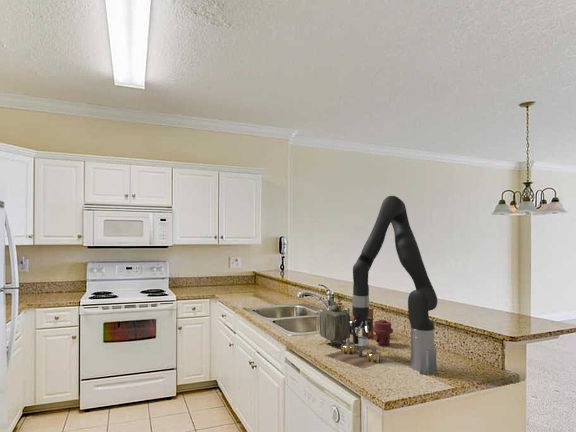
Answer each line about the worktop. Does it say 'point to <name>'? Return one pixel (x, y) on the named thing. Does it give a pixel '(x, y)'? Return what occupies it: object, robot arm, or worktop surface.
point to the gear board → (354, 357)
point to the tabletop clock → (334, 323)
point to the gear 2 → (374, 357)
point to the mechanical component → (382, 332)
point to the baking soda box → (370, 334)
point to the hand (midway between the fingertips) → (360, 342)
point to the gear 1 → (347, 348)
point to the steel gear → (362, 341)
